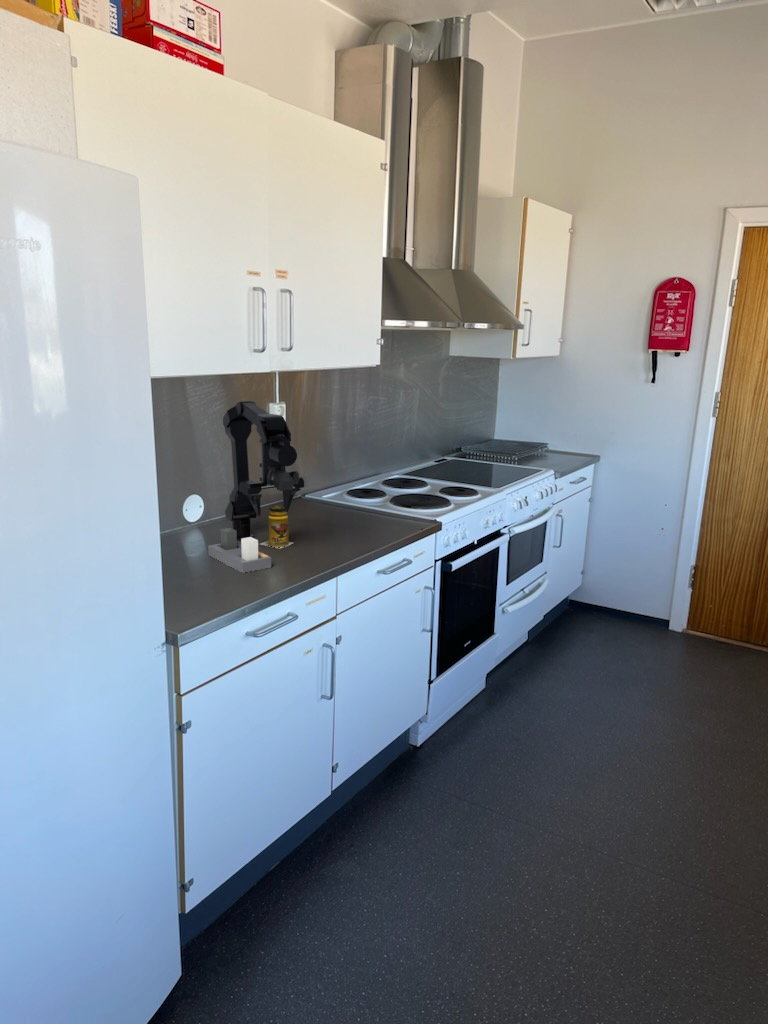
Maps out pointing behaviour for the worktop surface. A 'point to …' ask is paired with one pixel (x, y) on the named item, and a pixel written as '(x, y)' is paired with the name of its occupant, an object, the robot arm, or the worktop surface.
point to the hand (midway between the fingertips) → (272, 513)
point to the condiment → (278, 528)
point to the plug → (249, 548)
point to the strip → (239, 558)
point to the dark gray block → (228, 538)
